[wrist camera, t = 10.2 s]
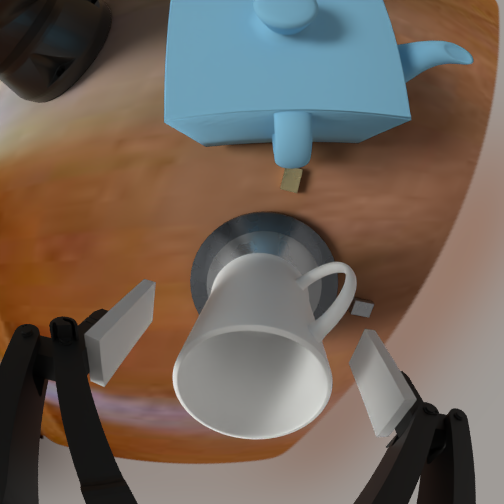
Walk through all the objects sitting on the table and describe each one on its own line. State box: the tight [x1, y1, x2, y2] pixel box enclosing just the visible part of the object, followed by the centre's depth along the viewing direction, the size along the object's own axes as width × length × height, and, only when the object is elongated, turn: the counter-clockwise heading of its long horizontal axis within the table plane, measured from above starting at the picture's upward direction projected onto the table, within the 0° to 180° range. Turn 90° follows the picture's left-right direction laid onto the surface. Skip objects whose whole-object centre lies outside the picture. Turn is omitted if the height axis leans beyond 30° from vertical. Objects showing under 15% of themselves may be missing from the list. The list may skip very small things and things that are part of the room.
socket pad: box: [190, 168, 374, 320], centre depth 24 cm, size 21×17×1 cm
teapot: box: [164, 0, 473, 169], centre depth 14 cm, size 18×16×13 cm
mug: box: [173, 253, 357, 439], centre depth 18 cm, size 12×8×12 cm
